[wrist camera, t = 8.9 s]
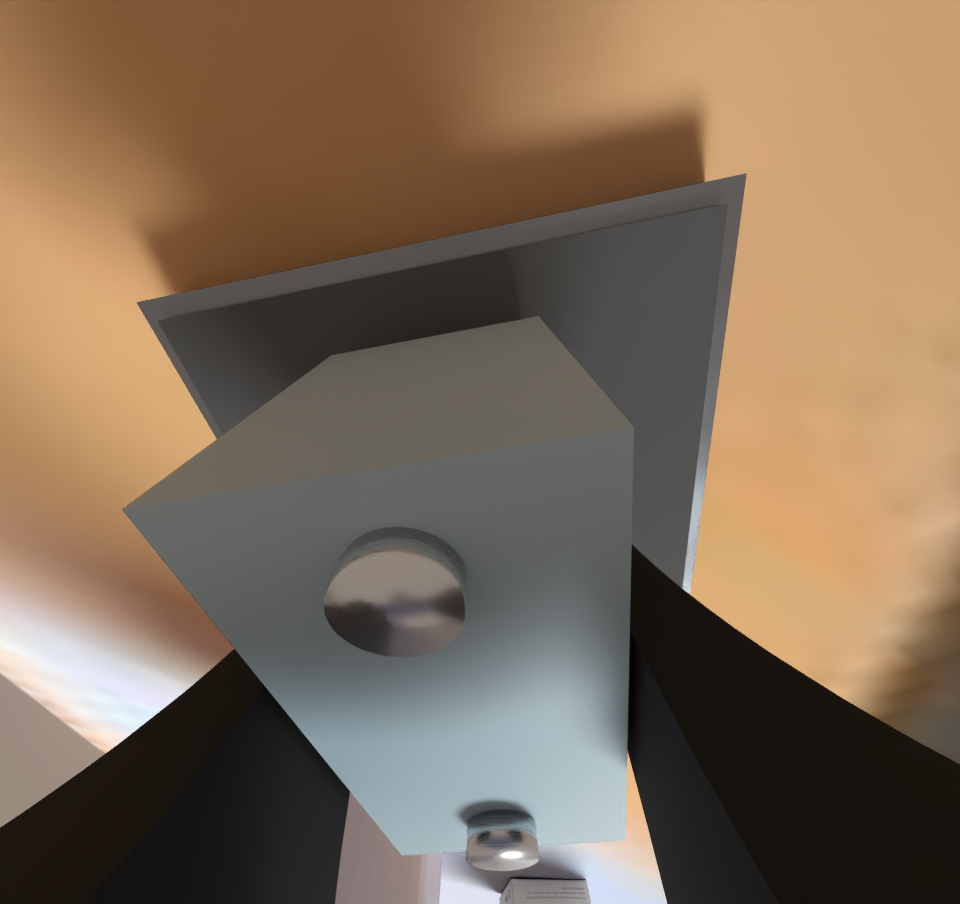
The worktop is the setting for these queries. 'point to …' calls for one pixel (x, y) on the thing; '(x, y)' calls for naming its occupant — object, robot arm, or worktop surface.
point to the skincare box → (545, 892)
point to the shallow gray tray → (503, 298)
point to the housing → (431, 582)
